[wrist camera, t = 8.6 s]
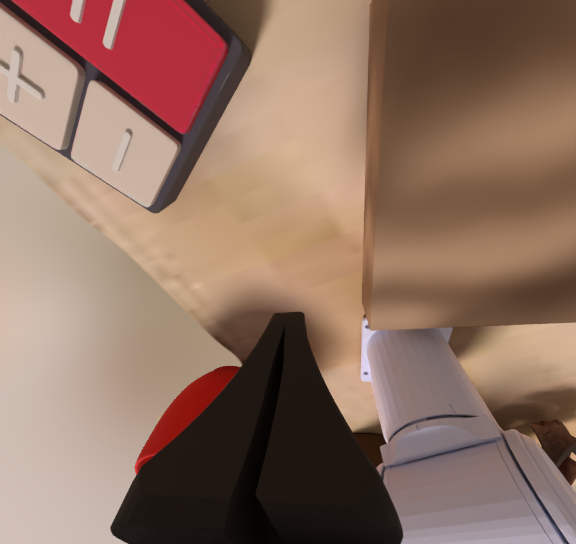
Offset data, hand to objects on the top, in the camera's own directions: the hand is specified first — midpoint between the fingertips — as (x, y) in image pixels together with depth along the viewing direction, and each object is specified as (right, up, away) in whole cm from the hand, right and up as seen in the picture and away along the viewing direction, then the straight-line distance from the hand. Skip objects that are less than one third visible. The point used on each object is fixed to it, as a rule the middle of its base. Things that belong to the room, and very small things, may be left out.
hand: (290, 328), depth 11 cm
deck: (+12, +8, +5) cm, 16 cm away
